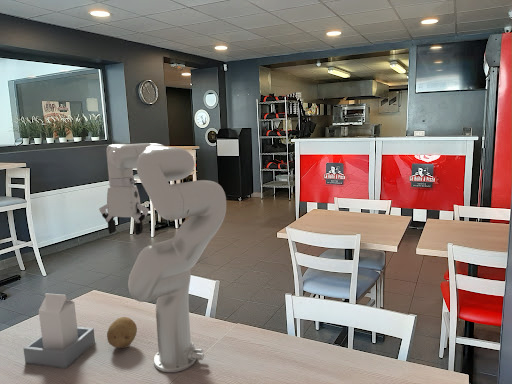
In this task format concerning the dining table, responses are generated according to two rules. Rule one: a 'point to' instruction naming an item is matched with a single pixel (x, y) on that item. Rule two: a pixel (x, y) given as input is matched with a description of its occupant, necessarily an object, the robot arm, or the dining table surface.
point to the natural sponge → (122, 332)
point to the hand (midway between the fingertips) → (125, 233)
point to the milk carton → (58, 322)
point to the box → (59, 357)
